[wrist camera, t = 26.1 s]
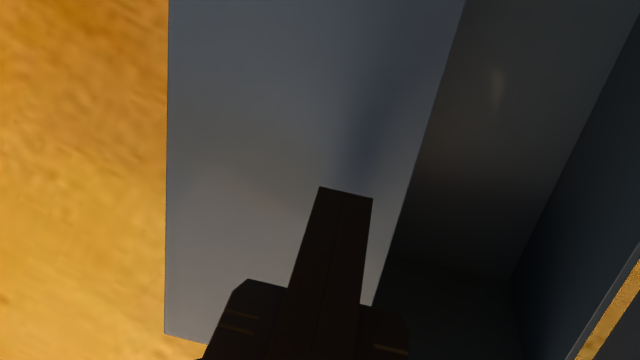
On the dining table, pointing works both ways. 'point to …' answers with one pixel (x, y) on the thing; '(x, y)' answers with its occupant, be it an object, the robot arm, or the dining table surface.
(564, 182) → the carton
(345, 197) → the robot arm
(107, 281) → the dining table surface
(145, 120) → the dining table surface
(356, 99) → the flap
